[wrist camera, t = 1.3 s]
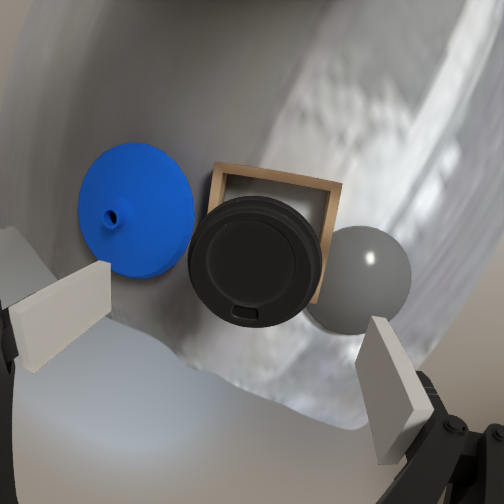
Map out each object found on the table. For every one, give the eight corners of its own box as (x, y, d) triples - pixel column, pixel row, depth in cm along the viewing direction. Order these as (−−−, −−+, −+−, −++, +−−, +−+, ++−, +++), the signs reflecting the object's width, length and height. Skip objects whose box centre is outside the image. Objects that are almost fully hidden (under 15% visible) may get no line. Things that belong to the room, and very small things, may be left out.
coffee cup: (245, 281, 36) (212, 350, 22) (214, 204, 34) (158, 229, 20) (323, 256, 34) (341, 315, 20) (295, 174, 32) (295, 176, 18)
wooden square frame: (220, 162, 33) (214, 161, 30) (338, 182, 32) (342, 183, 29) (205, 273, 36) (199, 281, 34) (315, 295, 35) (316, 304, 33)
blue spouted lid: (166, 119, 32) (137, 109, 26) (226, 239, 35) (209, 256, 28) (75, 185, 36) (40, 190, 29) (125, 288, 39) (97, 310, 32)
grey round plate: (314, 215, 33) (314, 216, 32) (421, 238, 32) (423, 239, 31) (291, 322, 36) (291, 325, 36) (390, 337, 35) (391, 340, 34)
